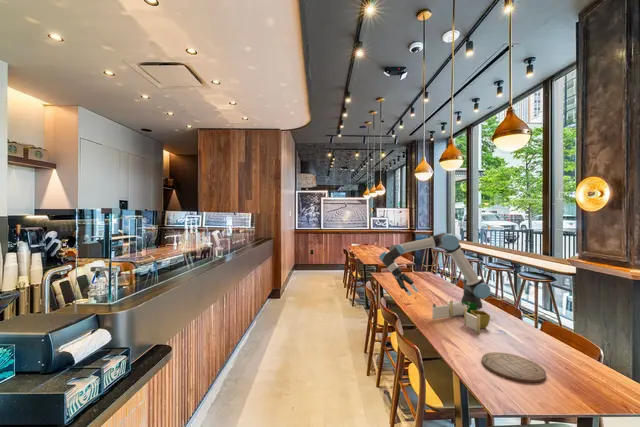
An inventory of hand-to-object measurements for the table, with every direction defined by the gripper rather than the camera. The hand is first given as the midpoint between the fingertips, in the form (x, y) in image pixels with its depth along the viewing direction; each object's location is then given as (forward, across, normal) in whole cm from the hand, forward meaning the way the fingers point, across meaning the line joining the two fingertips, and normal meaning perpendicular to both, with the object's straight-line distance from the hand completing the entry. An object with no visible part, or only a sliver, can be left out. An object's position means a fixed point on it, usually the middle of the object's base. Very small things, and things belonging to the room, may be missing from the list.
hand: (414, 293), depth 211 cm
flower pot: (+40, -4, +19) cm, 45 cm away
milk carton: (+31, -26, +18) cm, 44 cm away
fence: (+34, 0, +14) cm, 37 cm away
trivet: (+56, +44, +35) cm, 80 cm away
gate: (+23, -1, +3) cm, 23 cm away
